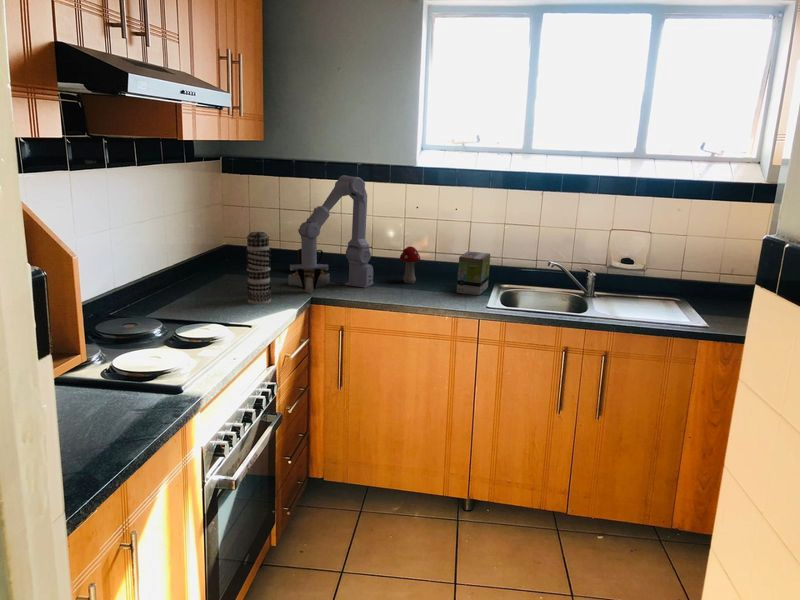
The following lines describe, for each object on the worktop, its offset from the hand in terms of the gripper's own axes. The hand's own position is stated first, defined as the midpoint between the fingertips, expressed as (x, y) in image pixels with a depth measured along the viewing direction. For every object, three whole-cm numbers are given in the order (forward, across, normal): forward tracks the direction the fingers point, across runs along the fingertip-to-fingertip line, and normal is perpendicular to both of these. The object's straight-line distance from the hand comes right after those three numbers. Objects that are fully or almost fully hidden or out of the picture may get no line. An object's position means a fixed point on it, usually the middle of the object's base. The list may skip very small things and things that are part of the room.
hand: (309, 288), depth 255 cm
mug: (+2, -2, -38) cm, 39 cm away
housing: (+1, 0, -13) cm, 13 cm away
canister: (+1, 0, 0) cm, 1 cm away
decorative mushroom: (+2, -42, -16) cm, 45 cm away
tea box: (+2, -66, 0) cm, 66 cm away
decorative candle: (+2, +18, +13) cm, 23 cm away
